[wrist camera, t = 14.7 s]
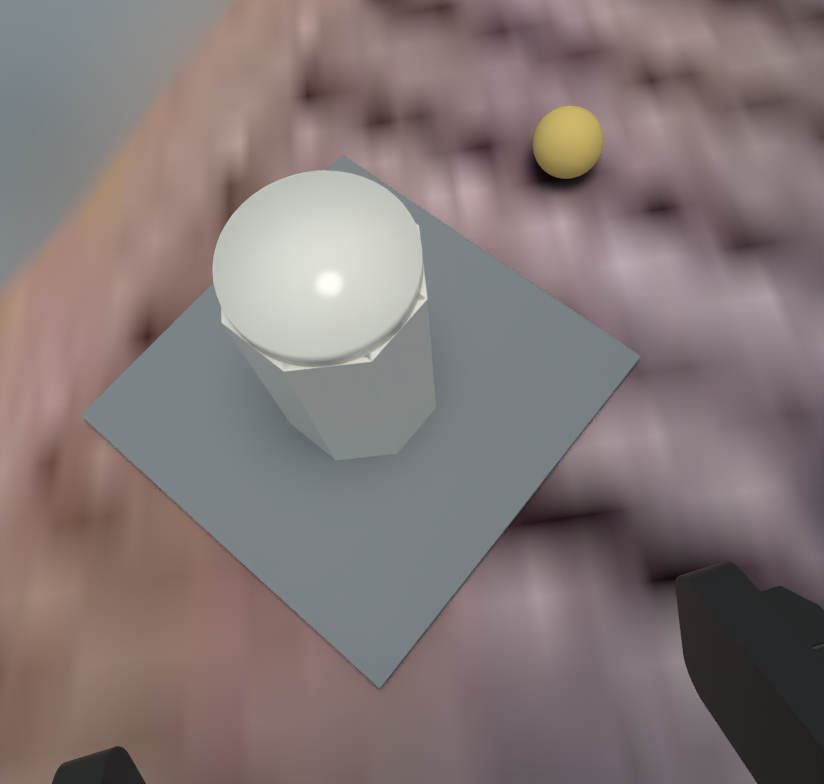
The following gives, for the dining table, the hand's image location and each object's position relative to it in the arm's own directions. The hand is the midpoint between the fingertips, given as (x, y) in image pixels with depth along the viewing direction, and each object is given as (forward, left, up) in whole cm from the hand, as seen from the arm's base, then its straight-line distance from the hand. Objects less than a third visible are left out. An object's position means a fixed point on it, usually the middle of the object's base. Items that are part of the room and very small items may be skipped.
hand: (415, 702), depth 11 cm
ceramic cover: (-7, -9, -16) cm, 20 cm away
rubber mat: (-6, -9, -17) cm, 20 cm away
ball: (-20, -9, -17) cm, 28 cm away
